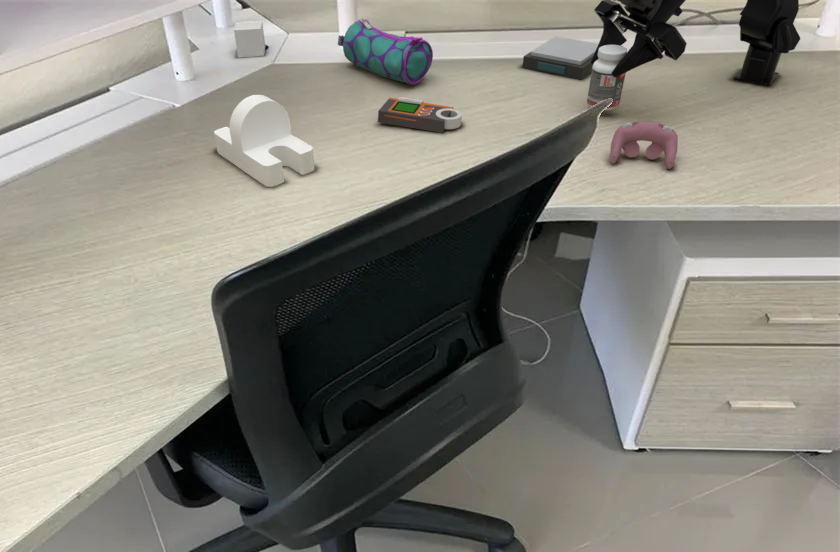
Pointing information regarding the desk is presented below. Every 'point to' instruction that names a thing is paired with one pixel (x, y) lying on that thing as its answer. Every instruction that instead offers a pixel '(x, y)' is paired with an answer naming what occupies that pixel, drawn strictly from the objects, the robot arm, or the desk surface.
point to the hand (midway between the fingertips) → (602, 70)
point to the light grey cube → (249, 38)
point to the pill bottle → (606, 76)
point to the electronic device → (419, 115)
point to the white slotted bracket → (263, 141)
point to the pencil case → (387, 53)
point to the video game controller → (645, 131)
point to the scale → (562, 57)
